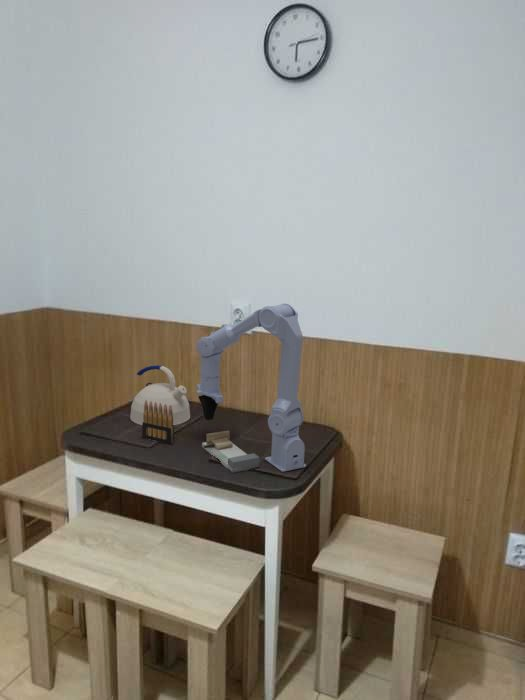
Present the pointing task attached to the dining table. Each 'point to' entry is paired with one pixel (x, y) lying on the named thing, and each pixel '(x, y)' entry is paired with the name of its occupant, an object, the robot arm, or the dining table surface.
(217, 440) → the gauge carriage
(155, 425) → the ammunition clip
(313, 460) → the dining table surface
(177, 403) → the kettle
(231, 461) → the gauge base
